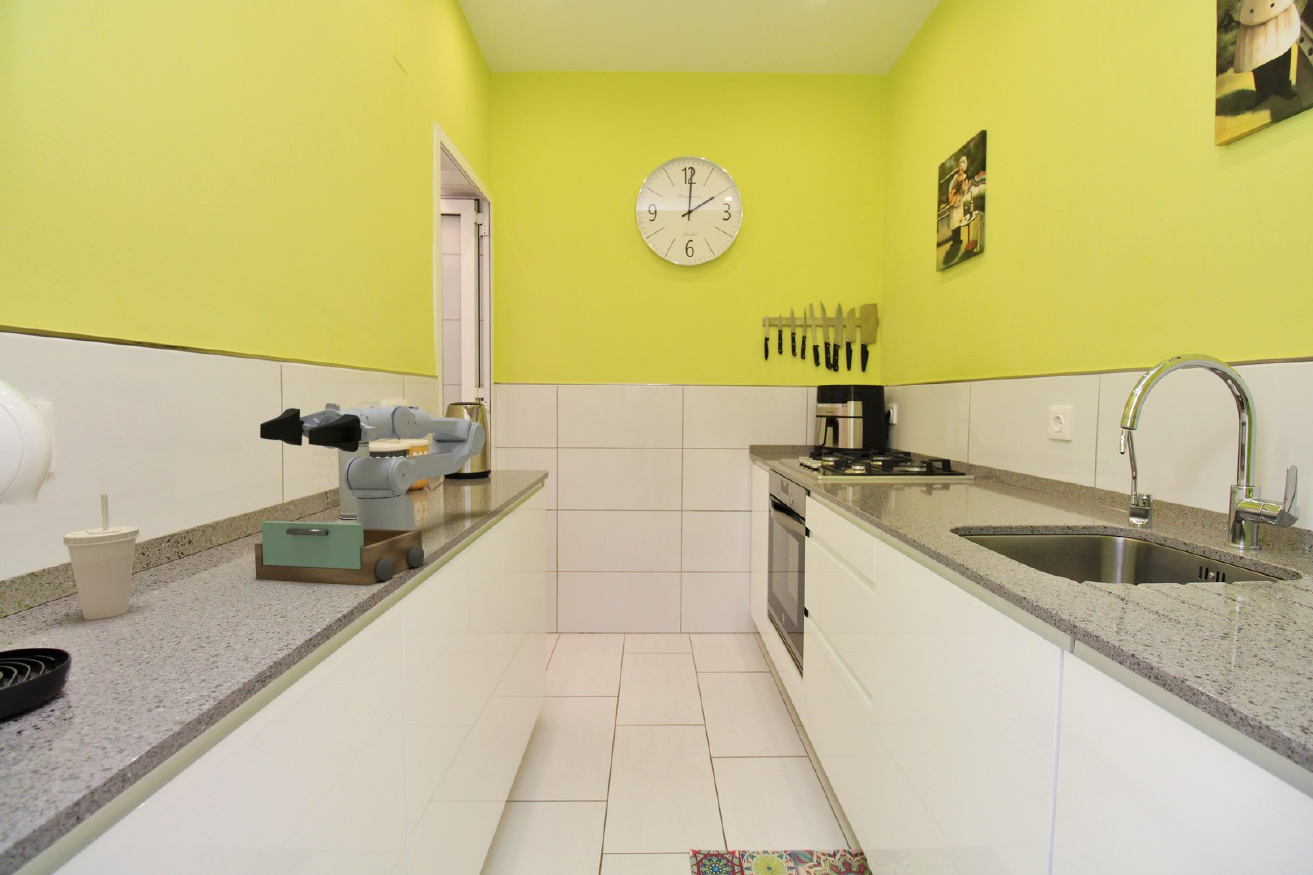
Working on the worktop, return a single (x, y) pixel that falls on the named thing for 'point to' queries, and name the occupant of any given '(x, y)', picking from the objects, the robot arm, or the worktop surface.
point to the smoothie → (103, 566)
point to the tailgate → (312, 544)
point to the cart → (379, 560)
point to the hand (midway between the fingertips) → (286, 434)
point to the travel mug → (346, 498)
